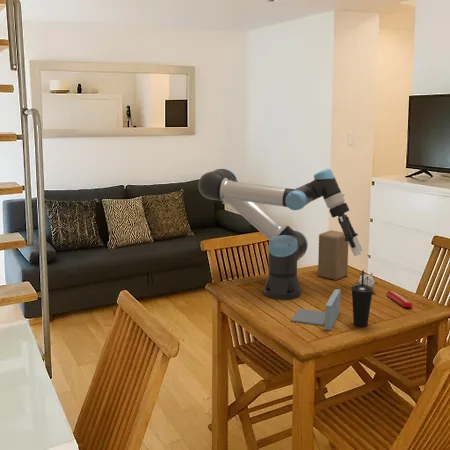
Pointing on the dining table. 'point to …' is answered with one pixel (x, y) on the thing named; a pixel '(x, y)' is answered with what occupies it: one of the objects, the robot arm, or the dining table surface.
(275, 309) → the dining table surface
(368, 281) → the game die
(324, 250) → the wooden block
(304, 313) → the rubber mat
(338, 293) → the low wall
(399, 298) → the candy bar
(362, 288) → the drinking cup
